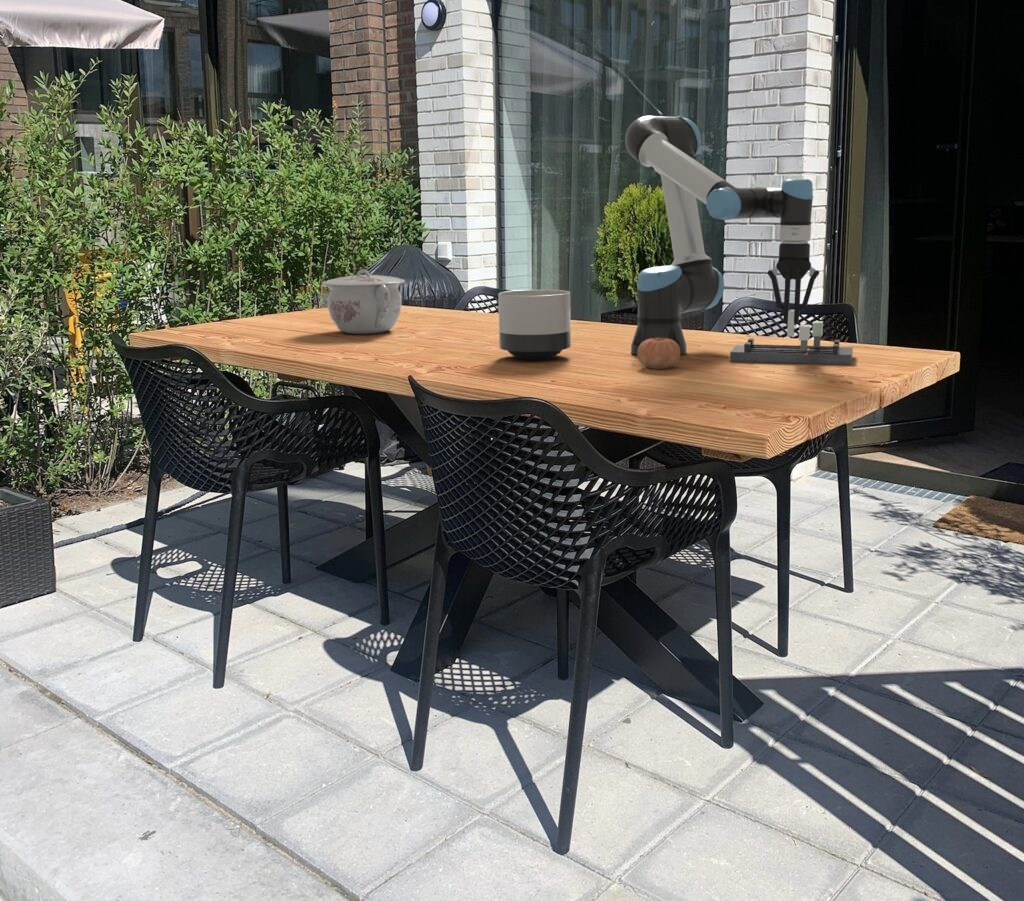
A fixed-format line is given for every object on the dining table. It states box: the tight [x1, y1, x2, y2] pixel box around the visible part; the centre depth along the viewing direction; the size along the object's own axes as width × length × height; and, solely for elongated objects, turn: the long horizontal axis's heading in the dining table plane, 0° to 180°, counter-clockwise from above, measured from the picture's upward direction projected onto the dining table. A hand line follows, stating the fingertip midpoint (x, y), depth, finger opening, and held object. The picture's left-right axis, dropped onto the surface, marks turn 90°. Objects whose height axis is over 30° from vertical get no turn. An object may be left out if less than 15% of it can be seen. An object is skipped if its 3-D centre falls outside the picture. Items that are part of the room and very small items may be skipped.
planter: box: [497, 289, 572, 361], centre depth 292 cm, size 19×19×18 cm
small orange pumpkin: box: [636, 337, 681, 370], centre depth 272 cm, size 11×11×8 cm
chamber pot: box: [321, 268, 406, 335], centre depth 356 cm, size 28×28×21 cm
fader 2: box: [811, 320, 824, 347], centre depth 283 cm, size 2×4×6 cm, turn 162°
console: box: [729, 337, 854, 366], centre depth 281 cm, size 30×16×4 cm, turn 72°
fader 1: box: [798, 324, 811, 351], centre depth 276 cm, size 2×4×6 cm, turn 161°
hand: (790, 335), depth 277 cm, fingers closed
